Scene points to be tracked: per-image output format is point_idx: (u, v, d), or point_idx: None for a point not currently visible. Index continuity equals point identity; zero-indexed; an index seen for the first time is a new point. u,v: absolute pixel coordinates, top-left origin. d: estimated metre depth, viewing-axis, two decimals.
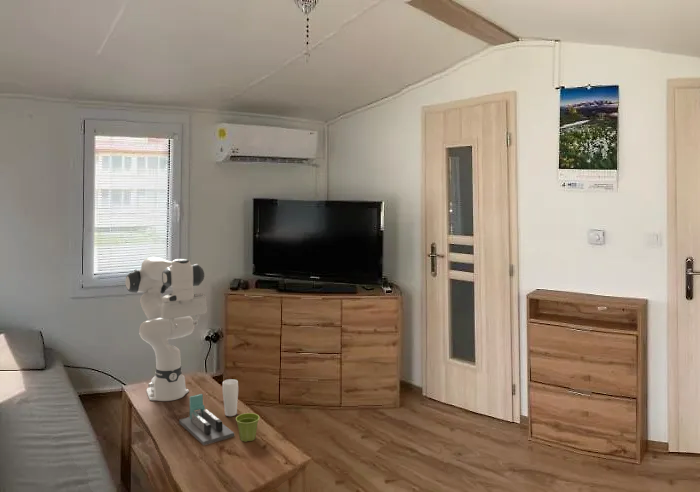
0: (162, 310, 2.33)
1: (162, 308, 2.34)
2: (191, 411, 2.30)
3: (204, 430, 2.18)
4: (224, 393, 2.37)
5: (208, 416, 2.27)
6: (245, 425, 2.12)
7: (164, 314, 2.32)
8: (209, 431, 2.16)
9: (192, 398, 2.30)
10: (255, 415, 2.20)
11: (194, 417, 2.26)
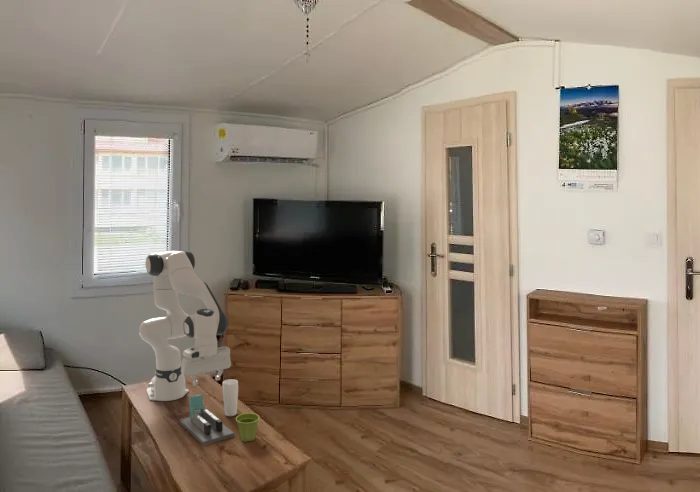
0: (183, 367, 2.14)
1: (183, 364, 2.14)
2: (191, 411, 2.30)
3: (204, 430, 2.18)
4: (224, 393, 2.37)
5: (208, 416, 2.27)
6: (245, 425, 2.12)
7: (185, 372, 2.14)
8: (209, 431, 2.16)
9: (192, 398, 2.30)
10: (255, 415, 2.20)
11: (194, 417, 2.26)
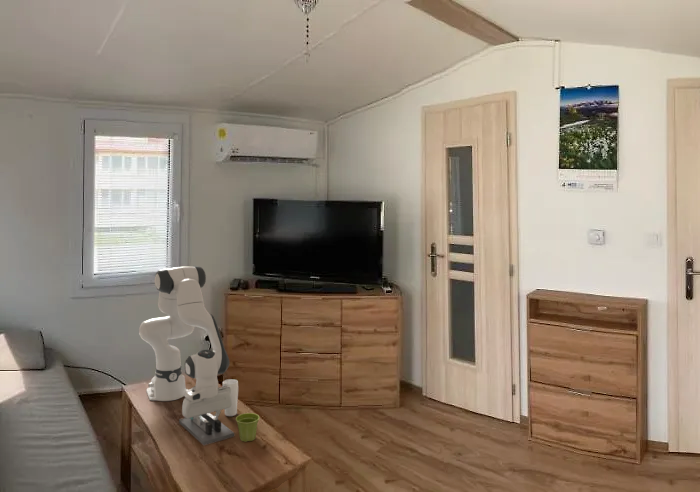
0: (184, 409, 2.16)
1: (184, 406, 2.16)
2: None
3: (205, 430, 2.18)
4: None
5: (207, 416, 2.26)
6: (245, 425, 2.12)
7: (186, 413, 2.15)
8: (210, 431, 2.17)
9: None
10: (255, 415, 2.20)
11: None
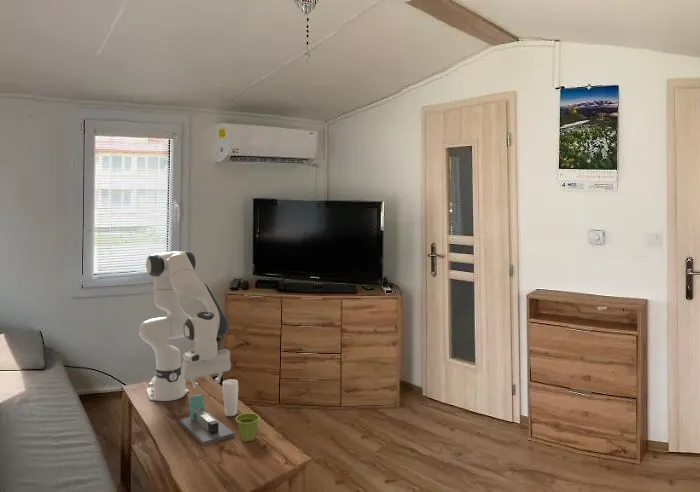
0: (183, 370, 2.14)
1: (183, 367, 2.15)
2: (191, 411, 2.30)
3: (208, 429, 2.19)
4: (224, 393, 2.37)
5: None
6: (245, 425, 2.12)
7: (185, 375, 2.14)
8: (213, 430, 2.17)
9: (192, 398, 2.30)
10: (255, 415, 2.20)
11: (198, 416, 2.27)
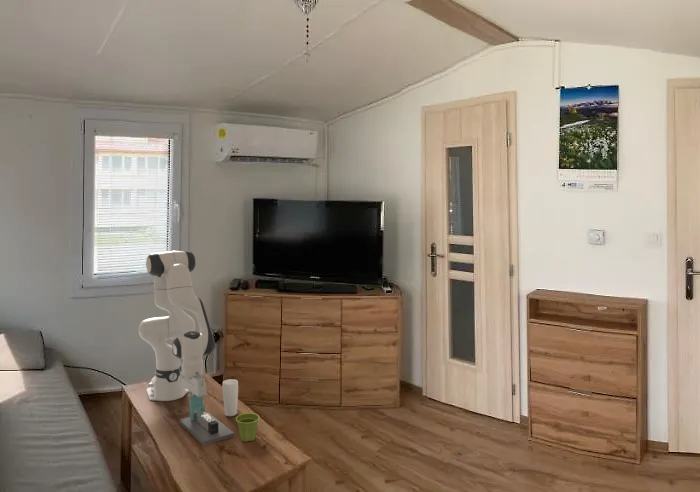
0: None
1: None
2: (191, 411, 2.30)
3: (208, 429, 2.19)
4: (224, 393, 2.37)
5: None
6: (245, 425, 2.12)
7: (180, 380, 2.40)
8: (213, 430, 2.17)
9: (192, 398, 2.30)
10: (255, 415, 2.20)
11: (198, 416, 2.27)
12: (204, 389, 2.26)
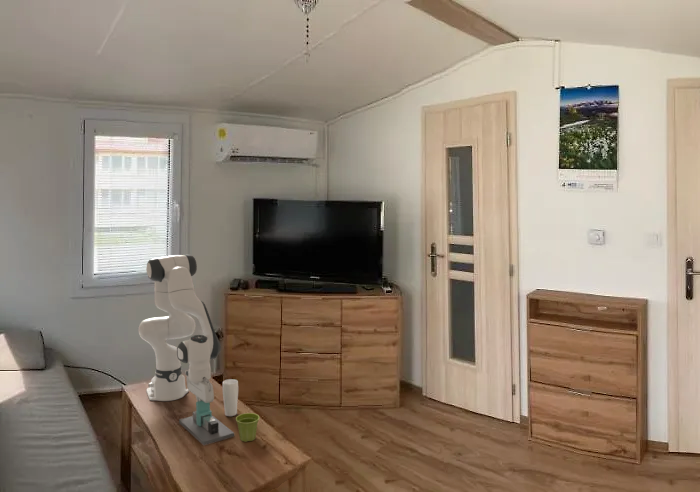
0: None
1: None
2: (198, 417, 2.24)
3: (208, 429, 2.19)
4: (224, 393, 2.37)
5: None
6: (245, 425, 2.12)
7: (187, 385, 2.34)
8: (213, 430, 2.17)
9: (199, 403, 2.25)
10: (255, 415, 2.20)
11: None
12: (211, 394, 2.20)
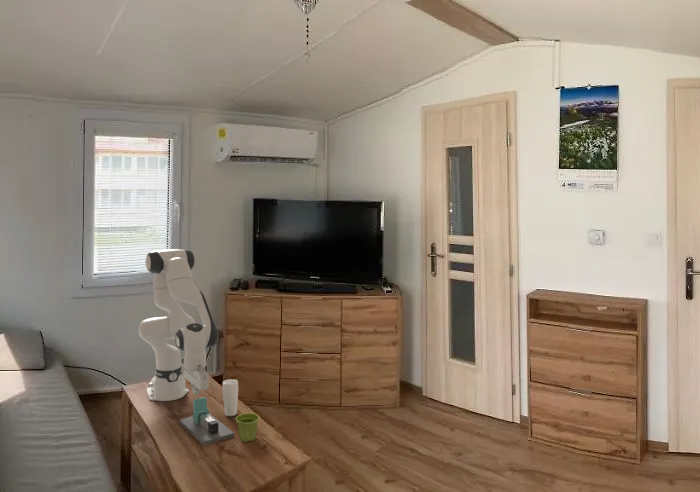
0: None
1: None
2: (195, 414, 2.26)
3: (208, 429, 2.19)
4: (224, 393, 2.37)
5: None
6: (245, 425, 2.12)
7: None
8: (213, 430, 2.17)
9: (196, 401, 2.27)
10: (255, 415, 2.20)
11: (198, 416, 2.27)
12: (206, 382, 2.24)
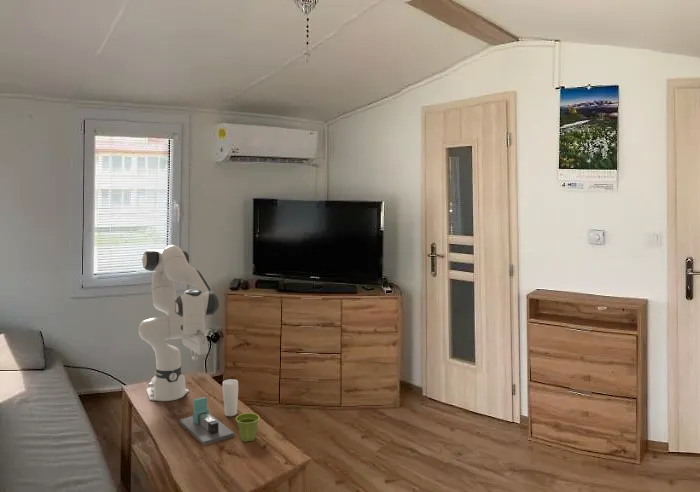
0: None
1: None
2: (195, 414, 2.26)
3: (208, 429, 2.19)
4: (224, 393, 2.37)
5: None
6: (245, 425, 2.12)
7: (182, 340, 2.36)
8: (213, 430, 2.17)
9: (196, 401, 2.27)
10: (255, 415, 2.20)
11: (198, 416, 2.27)
12: (206, 347, 2.22)
